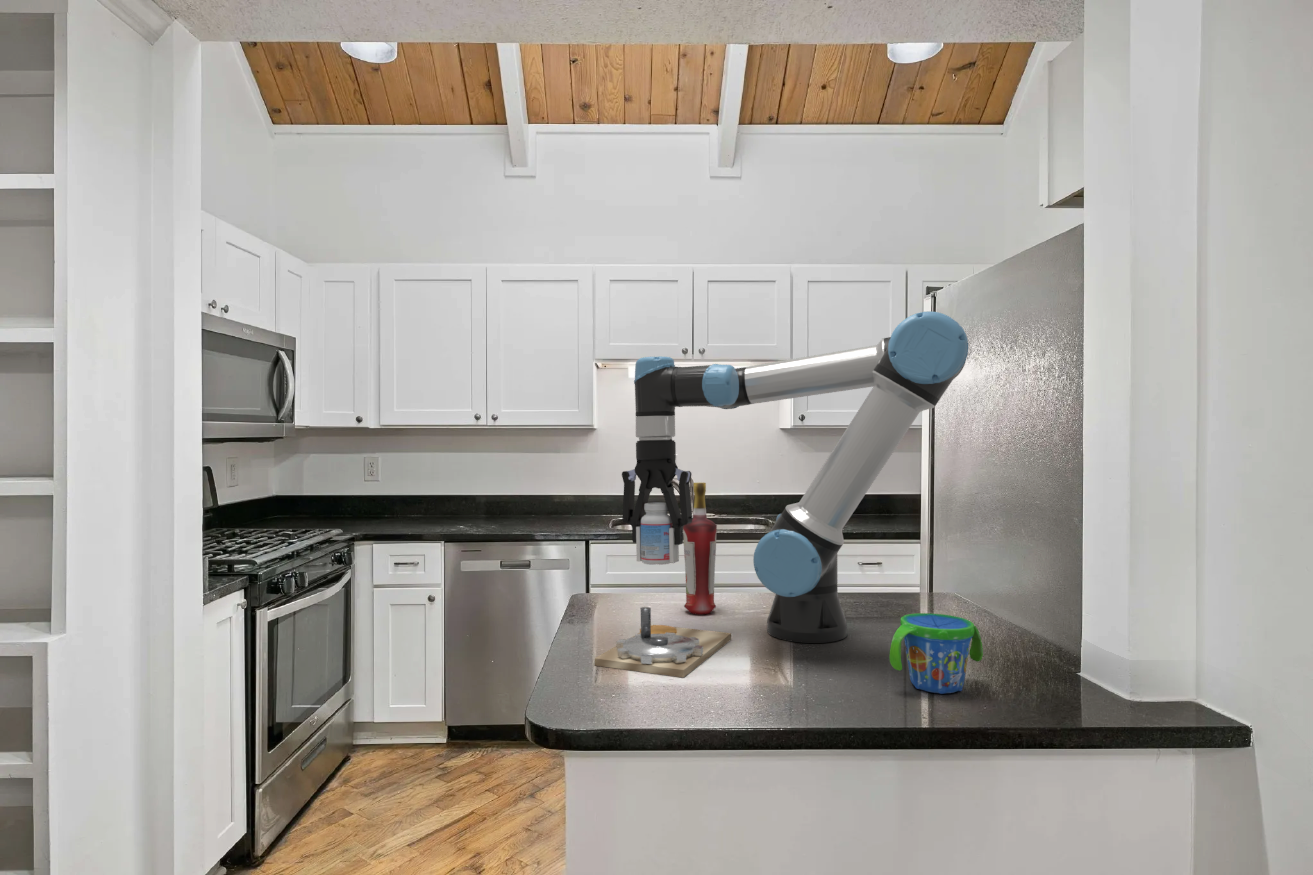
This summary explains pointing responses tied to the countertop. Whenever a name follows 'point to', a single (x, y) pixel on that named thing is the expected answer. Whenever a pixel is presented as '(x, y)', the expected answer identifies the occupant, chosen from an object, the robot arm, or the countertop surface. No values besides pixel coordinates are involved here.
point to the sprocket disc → (657, 645)
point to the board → (706, 639)
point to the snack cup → (936, 650)
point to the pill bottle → (655, 534)
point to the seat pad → (662, 629)
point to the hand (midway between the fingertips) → (657, 560)
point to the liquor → (700, 556)
